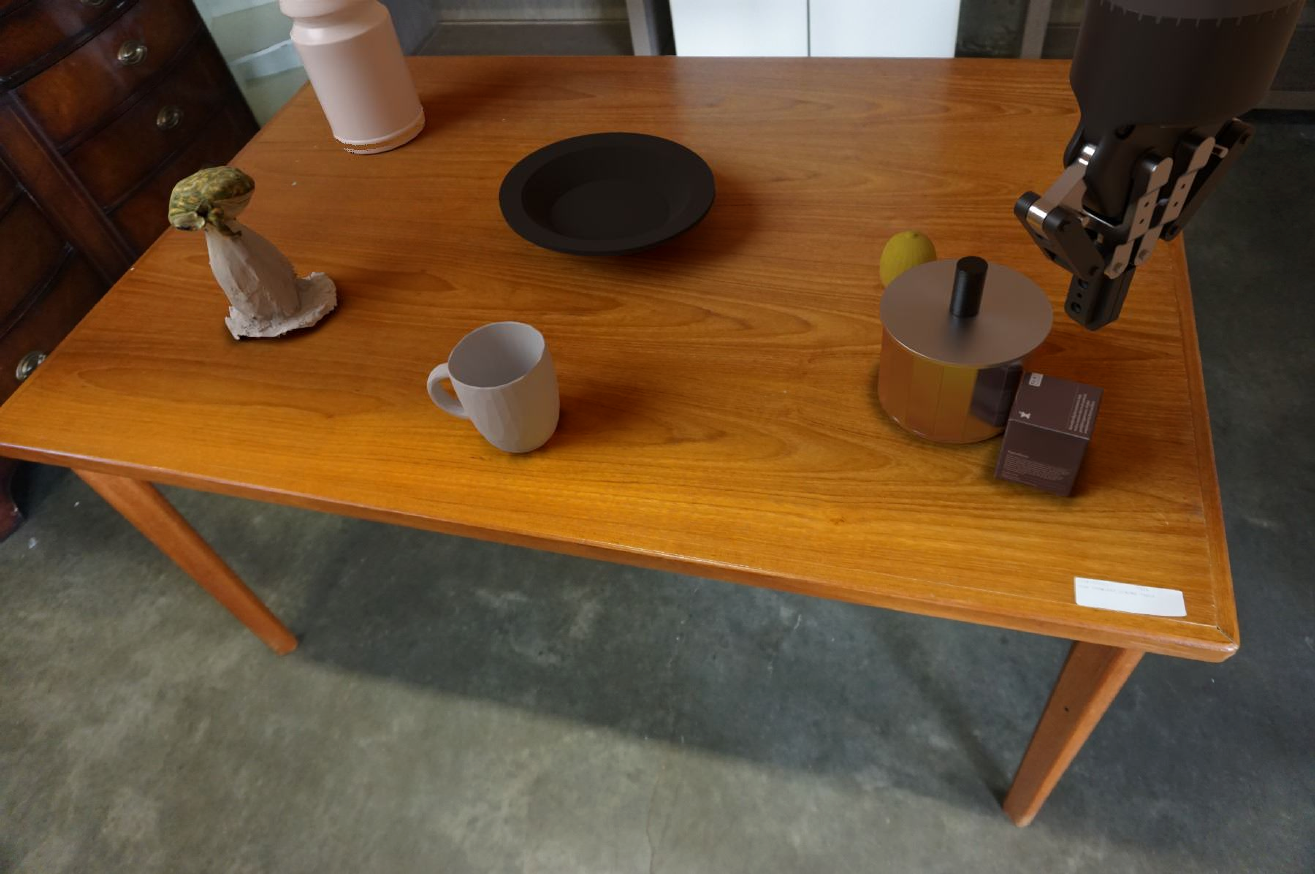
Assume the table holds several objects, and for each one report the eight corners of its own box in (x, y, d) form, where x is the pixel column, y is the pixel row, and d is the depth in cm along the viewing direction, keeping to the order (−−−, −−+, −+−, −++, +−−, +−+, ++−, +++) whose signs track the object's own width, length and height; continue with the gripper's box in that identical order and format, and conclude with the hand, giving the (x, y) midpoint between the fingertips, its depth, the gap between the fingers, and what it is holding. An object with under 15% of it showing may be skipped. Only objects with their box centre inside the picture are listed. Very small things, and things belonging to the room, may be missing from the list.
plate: (763, 217, 100) (761, 175, 96) (618, 322, 90) (609, 281, 86) (608, 151, 115) (600, 112, 111) (469, 235, 105) (456, 196, 101)
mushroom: (326, 338, 95) (248, 197, 81) (217, 354, 95) (121, 216, 82) (345, 275, 103) (276, 137, 89) (244, 290, 103) (161, 155, 90)
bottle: (319, 149, 126) (224, -53, 106) (376, 105, 134) (299, -91, 114) (390, 161, 121) (305, -50, 100) (445, 115, 129) (377, -90, 108)
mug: (579, 398, 83) (557, 321, 76) (556, 467, 77) (529, 391, 70) (461, 393, 86) (429, 318, 78) (430, 459, 80) (392, 385, 73)
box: (1068, 500, 68) (1091, 441, 62) (991, 478, 70) (1007, 419, 65) (1082, 448, 71) (1106, 387, 66) (1009, 428, 74) (1025, 368, 68)
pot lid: (1088, 326, 68) (1106, 271, 64) (958, 400, 65) (969, 346, 61) (965, 249, 77) (974, 196, 73) (845, 310, 73) (848, 258, 69)
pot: (1054, 401, 75) (1080, 320, 68) (944, 466, 72) (960, 388, 65) (952, 327, 83) (966, 248, 76) (849, 383, 80) (854, 305, 73)
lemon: (937, 311, 85) (947, 245, 79) (881, 316, 85) (887, 251, 80) (926, 277, 89) (935, 212, 83) (873, 282, 89) (878, 218, 83)
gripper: (1158, 55, 28) (1050, 411, 41) (1415, -59, 31) (1241, 305, 44) (995, -4, 33) (943, 331, 46) (1232, -97, 36) (1122, 240, 49)
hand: (1090, 318), depth 45 cm, fingers closed
